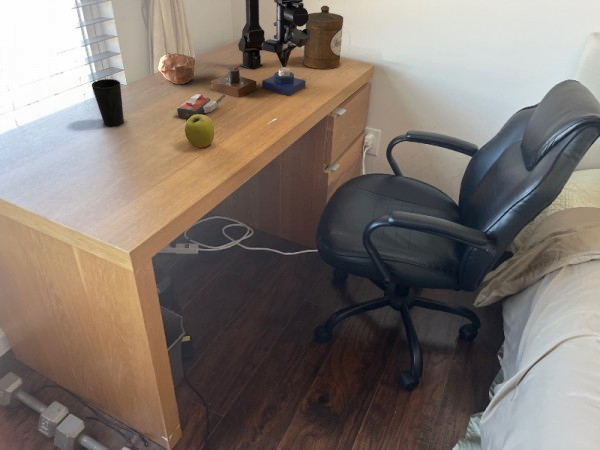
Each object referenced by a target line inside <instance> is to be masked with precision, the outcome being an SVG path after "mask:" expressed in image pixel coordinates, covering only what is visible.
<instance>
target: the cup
mask: <svg viewBox="0 0 600 450" xmlns="http://www.w3.org/2000/svg"><path fill="white" fill-rule="evenodd" d="M91 88H92V91H93V94H94V97H95V100H96V104H97V106H98V109H99V113H100V115H101V119H102V121H103V124H104V126H105V127H108V128H116V127H120V126H122V125H124V123H125V121H124V119H125V118H124V110H123V109H124V107H123V99H122V98H123V97H122V88H121V82H120V81H119V80H117V79H114V78H104V79H98V80H96V81H93V82H92V83H91Z"/></svg>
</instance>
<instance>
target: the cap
mask: <svg viewBox="0 0 600 450" xmlns="http://www.w3.org/2000/svg"><path fill="white" fill-rule="evenodd" d="M278 72H279V76H285V77H286V76H290V72H291V69H290V68H288V67H280V68H278Z"/></svg>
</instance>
